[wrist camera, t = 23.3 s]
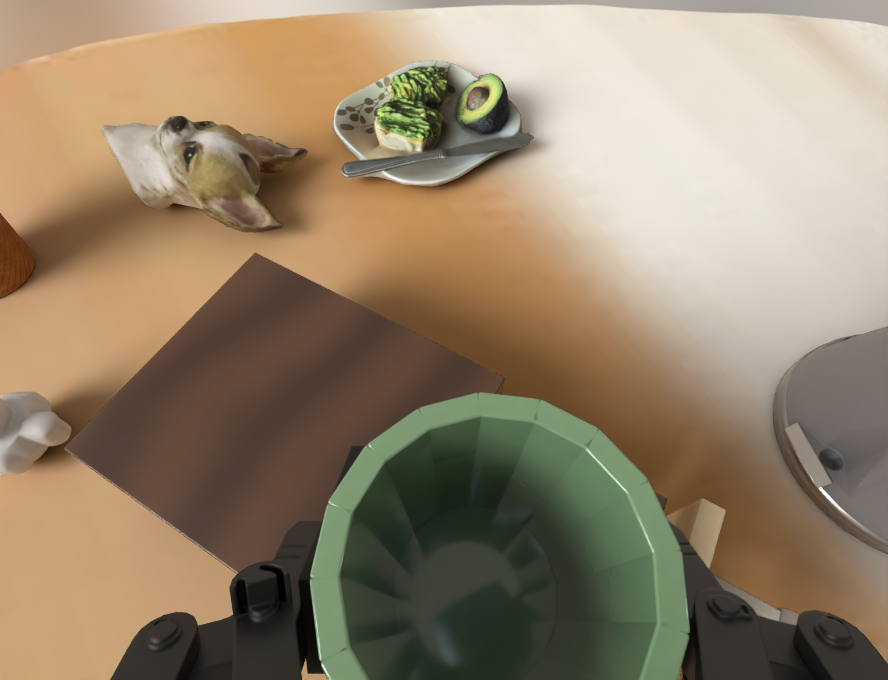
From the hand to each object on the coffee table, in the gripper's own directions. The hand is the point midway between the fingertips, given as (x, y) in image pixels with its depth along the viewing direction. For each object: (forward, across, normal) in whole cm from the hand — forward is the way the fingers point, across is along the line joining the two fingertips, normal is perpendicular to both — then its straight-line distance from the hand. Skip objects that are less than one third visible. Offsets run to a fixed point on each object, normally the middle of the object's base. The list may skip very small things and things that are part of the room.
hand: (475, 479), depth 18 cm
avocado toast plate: (+39, -2, +17) cm, 42 cm away
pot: (0, 0, -5) cm, 5 cm away
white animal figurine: (+15, -29, -6) cm, 34 cm away
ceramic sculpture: (+32, -22, +10) cm, 40 cm away
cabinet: (+15, -9, -7) cm, 19 cm away
